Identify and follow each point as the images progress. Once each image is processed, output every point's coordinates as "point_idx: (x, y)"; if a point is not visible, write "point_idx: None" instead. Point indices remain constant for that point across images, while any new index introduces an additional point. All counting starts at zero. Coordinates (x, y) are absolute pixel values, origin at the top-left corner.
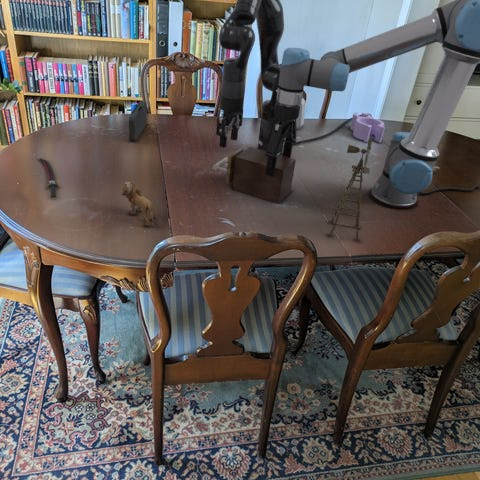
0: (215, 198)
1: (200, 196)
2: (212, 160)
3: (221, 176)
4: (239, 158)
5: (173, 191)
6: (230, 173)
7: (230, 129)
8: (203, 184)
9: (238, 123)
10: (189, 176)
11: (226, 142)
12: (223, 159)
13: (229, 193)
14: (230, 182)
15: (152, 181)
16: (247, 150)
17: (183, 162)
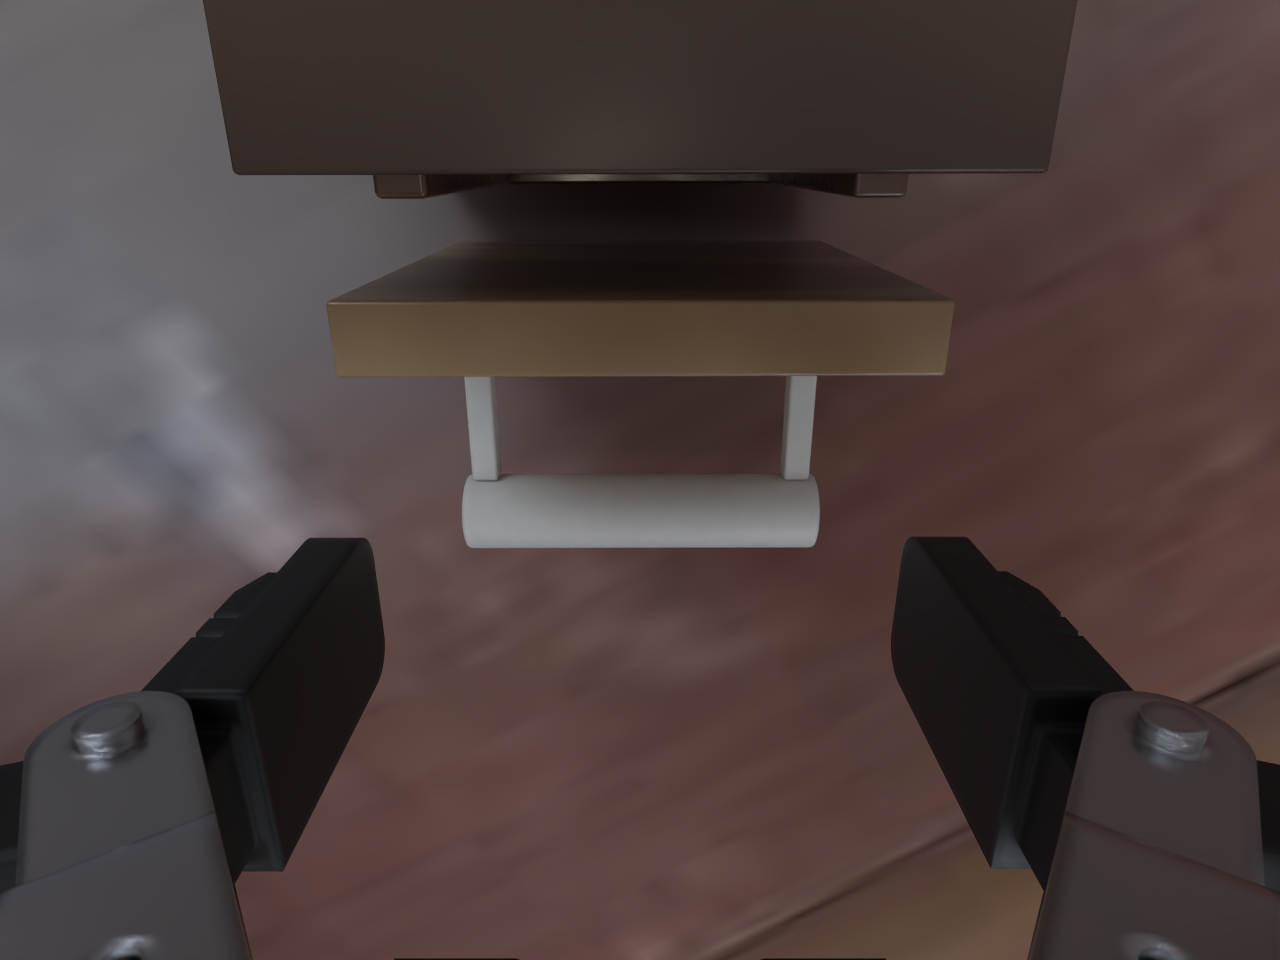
0: (1170, 222)
1: (1190, 385)
2: None
3: (604, 439)
4: (1058, 48)
5: (1191, 640)
6: (829, 256)
7: (1080, 835)
8: (903, 497)
9: (147, 901)
10: (809, 685)
11: (960, 587)
12: (565, 528)
13: None
14: (776, 241)
15: None
16: (492, 104)
17: (563, 861)
